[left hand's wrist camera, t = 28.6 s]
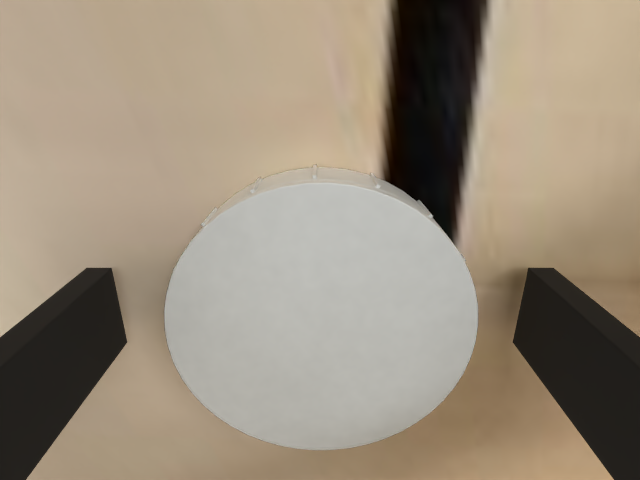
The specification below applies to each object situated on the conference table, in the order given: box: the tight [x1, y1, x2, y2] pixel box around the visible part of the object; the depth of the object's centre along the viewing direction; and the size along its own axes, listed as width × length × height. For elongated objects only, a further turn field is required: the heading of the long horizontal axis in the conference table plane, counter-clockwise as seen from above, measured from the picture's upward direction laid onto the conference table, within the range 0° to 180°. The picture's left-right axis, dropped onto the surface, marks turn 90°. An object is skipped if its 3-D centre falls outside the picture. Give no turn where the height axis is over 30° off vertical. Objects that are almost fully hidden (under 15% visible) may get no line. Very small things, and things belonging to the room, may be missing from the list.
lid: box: [164, 165, 478, 450], centre depth 13 cm, size 9×9×2 cm
